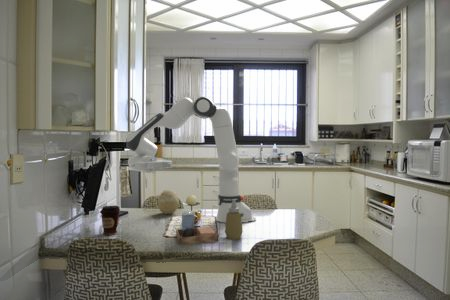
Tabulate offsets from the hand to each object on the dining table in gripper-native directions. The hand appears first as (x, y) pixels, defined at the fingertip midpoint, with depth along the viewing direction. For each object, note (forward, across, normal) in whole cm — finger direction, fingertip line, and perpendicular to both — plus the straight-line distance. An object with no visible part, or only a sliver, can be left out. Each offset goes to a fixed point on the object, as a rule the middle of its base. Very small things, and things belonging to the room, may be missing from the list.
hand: (162, 165), depth 155 cm
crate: (+24, +2, +32) cm, 40 cm away
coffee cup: (-11, -22, +32) cm, 40 cm away
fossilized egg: (-26, +21, +32) cm, 46 cm away
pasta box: (+27, +6, +31) cm, 41 cm away
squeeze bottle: (+35, +15, +32) cm, 50 cm away
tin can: (+22, -1, +31) cm, 38 cm away
